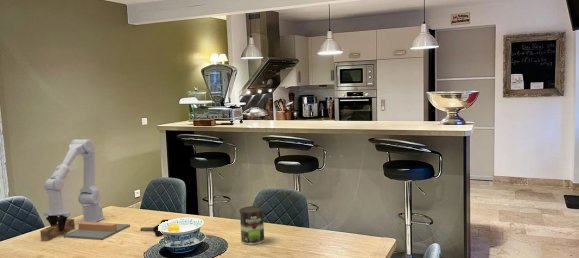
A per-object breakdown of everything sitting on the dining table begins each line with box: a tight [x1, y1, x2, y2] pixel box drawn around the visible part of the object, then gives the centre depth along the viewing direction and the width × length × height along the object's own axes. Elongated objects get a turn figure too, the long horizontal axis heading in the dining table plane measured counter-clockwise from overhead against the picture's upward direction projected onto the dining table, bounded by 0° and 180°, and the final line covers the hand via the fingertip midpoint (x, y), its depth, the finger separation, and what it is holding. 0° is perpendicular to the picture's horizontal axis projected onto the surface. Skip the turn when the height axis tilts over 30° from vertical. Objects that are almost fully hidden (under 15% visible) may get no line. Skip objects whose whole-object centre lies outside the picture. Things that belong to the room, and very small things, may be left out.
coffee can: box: [239, 205, 265, 246], centre depth 193 cm, size 10×10×14 cm
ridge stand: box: [63, 221, 131, 241], centre depth 217 cm, size 20×22×4 cm
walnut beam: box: [39, 218, 76, 242], centre depth 215 cm, size 18×4×5 cm, turn 166°
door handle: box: [140, 219, 169, 237], centre depth 216 cm, size 3×20×16 cm
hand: (58, 230), depth 215 cm, fingers closed on walnut beam, 4 cm apart
